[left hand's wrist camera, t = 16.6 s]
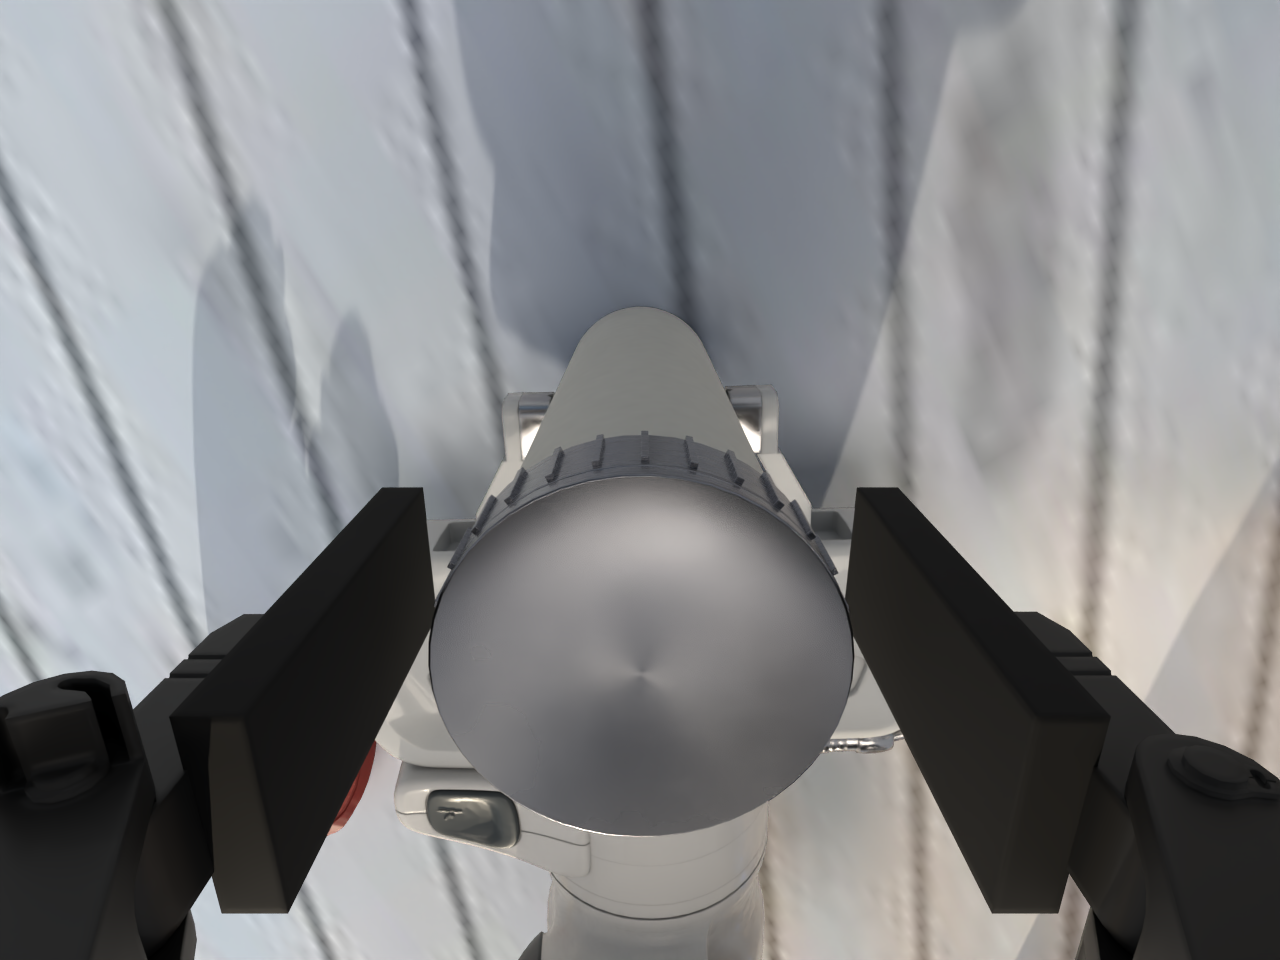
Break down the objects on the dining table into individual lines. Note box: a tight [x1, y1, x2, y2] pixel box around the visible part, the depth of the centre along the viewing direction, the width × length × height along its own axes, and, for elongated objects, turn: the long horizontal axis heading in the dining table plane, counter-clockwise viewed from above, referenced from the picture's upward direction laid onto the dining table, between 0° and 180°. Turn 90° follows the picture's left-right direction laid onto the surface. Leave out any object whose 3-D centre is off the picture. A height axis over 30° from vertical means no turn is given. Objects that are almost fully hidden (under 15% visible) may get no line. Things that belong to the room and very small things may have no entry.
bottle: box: [520, 307, 763, 474], centre depth 20 cm, size 6×6×19 cm
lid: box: [428, 431, 855, 837], centre depth 11 cm, size 6×6×2 cm
